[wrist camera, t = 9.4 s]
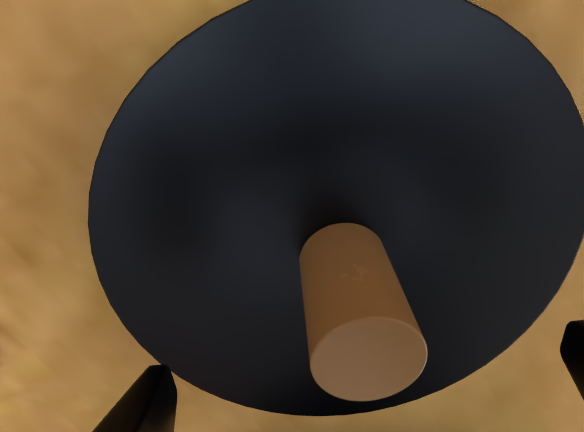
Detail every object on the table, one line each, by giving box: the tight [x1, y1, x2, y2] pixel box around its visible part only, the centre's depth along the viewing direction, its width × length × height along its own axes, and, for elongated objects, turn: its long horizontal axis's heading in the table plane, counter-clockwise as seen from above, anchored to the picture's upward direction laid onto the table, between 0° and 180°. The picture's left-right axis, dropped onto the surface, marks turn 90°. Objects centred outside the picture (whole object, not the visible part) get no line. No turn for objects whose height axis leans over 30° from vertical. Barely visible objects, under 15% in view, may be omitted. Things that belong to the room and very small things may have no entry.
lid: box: [88, 0, 584, 416], centre depth 11 cm, size 15×15×5 cm
